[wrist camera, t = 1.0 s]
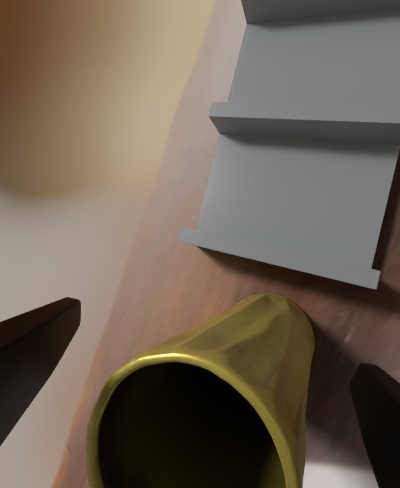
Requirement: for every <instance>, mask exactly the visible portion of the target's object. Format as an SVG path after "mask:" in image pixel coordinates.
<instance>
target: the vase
mask: <svg viewBox="0 0 400 488" xmlns="http://www.w3.org/2000/svg"><path fill="white" fill-rule="evenodd" d="M314 349H315V339H314V333H313V329H312V326H311V324H310V322H309V320H308V318H307V316H306V315H305V314H304V312H303V311H302V310H301V309H300V308H299V307H298V306H297V305H296V304H295V303H293V302H292V301H290V300H289V299H287V298H285V297H283V296H280V295H277V294H272V293H258V294H254V295H251V296H248V297H246V298H244V299H242V300H241V301H239V302H238V303H237V304H236V305H235V306H234V307H232V308H229V309H228V310H226V311H224V312H222V313H220V314H219V315H217V316H215V317H214V318H212V319H210V320H209V321H207V322H205V323H202V324H200V325H197V326H195V327H193V328H191V329H189V330H187V331H185V332H183V333H181V334H179V335H177V336H175V337H173V338H171V339H169V340H167V341H165V342H163V343H162V344H160V345H157V346H155V347H153V348H151V349H149V350H147V351H145V352H143V353H141V354H139V355H138V356H137V357H135V358H134V359H133V360H131V361H130V362H128V363H127V364H125V365H124V366H122V367H121V368H120V369H118V370H117V371H116V372H115V373H114V374H112V375H111V377H110V378H109V379H108V380H107V382H106V383H105V385H104V387H103V388H102V390H101V392H100V394H99V397H98V399H97V401H96V403H95V405H94V408H93V410H92V413H91V416H90V419H89V422H88V427H87V434H86V467H87V475H88V481H89V486H90V488H303V475H304V468H305V453H306V444H305V413H306V403H307V394H308V382H309V377H310V370H311V360H312V357H313V354H314Z"/></svg>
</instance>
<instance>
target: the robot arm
mask: <svg viewBox="0 0 400 488" xmlns="http://www.w3.org/2000/svg"><path fill="white" fill-rule="evenodd" d="M80 319H81V302H80V300H78V299H74V298H70V297H66V298H63V299H61V300H58V301H55V302H53V303H50V304H47V305H45V306H42V307H39V308H37V309H34V310H31V311H29V312H26V313H23V314H20V315H18V316H15V317H13V318H10V319H7V320H4V321H2V322H0V446H1V444H2V443H3V442H4V440H5V439H6V437H7V436H8V435H9V433H10V432H11V430H12V429H13V427H14V426H15V425H16V423H17V422H18V421H19V419H20V418H21V416H22V415H23V413H24V412H25V411H26V409H27V408H28V406H29V405H30V404H31V402H32V401H33V400H34V398H35V397H36V395H37V394H38V392H39V391H40V390H41V388H42V387H43V386H44V384H45V383H46V381H47V380H48V378H49V377H50V376H51V374H52V373H53V371H54V370H55V368H56V366H57V365H58V363H59V361H60V359H61V357H62V356H63V354H64V352H65V351H66V349H67V347H68V345H69V343H70V341H71V340H72V338H73V336H74V335H75V333H76V331H77V329H78V327H79V325H80ZM350 390H351V394H352V398H353V402H354V406H355V410H356V415H357V419H358V423H359V427H360V431H361V435H362V438H363V442H364V445H365V448H366V451H367V454H368V457H369V460H370V463H371V466H372V469H373V472H374V475H375V478H376V481H377V484H378V486H379V488H400V383H398V382H397V381H396V380H395V379H393V378H392V377H391V376H390V375H388V374H387V373H386V372H385V371H383V370H382V369H381V368H380V367H378V366H377V365H374V364H369V363H361V364H360V365H359V366H358V368H357V370H356V372H355V374H354V376H353V378H352V380H351V383H350Z"/></svg>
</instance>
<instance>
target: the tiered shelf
mask: <svg viewBox="0 0 400 488" xmlns="http://www.w3.org/2000/svg"><path fill="white" fill-rule="evenodd" d="M241 1H242V5H243V10H244V14H245V18H246V22H247V25H246V29H245V33H244V37H243V42H242V46H241V50H240V54H239V58H238V62H237V66H236V70H235V74H234V78H233V82H232V86H231V90H230V94H229V98H228V102H227V103H219V102H212V106H211V110H210V114H209V117H210V119H211V120H212V122H213V124H214V125H215V127H216V128H217V130H218V132H219V133H220V134H219V138H218V142H217V146H216V150H215V154H214V158H213V163H212V167H211V171H210V175H209V179H208V183H207V187H206V191H205V195H204V199H203V203H202V207H201V211H200V215H199V219H198V223H197V227H196V230H192V229H188V228H183V227H181V230H180V234H179V238H178V241H180V242H183V243H187V244H191V245H195V246H199V247H203V248H207V249H211V250H215V251H219V252H223V253H227V254H232V255H236V256H240V257H244V258H248V259H252V260H256V261H260V262H264V263H268V264H272V265H276V266H280V267H285V268H289V269H293V270H297V271H301V272H305V273H309V274H313V275H317V276H321V277H325V278H329V279H334V280H338V281H342V282H346V283H350V284H354V285H358V286H362V287H366V288H371V289H377V285H378V281H379V276H380V272H381V271H378V270H374V269H371V268H372V264H373V259H374V255H375V251H376V247H377V242H378V238H379V234H380V230H381V226H382V221H383V217H384V213H385V209H386V204H387V200H388V196H389V192H390V188H391V183H392V179H393V175H394V171H395V166H396V162H397V158H398V154H399V150H400V0H241Z"/></svg>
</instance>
